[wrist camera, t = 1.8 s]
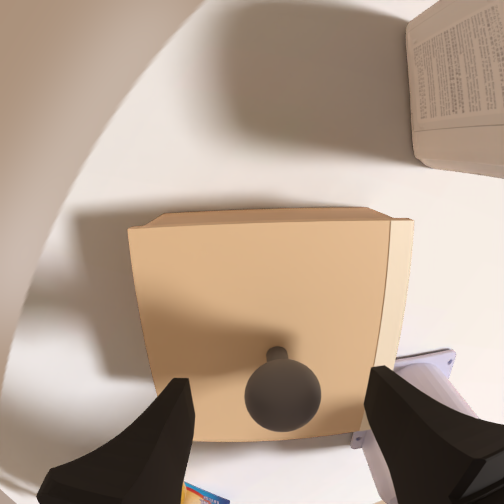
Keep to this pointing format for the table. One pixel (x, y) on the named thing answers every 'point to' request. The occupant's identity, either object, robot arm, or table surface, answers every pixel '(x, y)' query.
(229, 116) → the table surface
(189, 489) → the juice carton
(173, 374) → the lid
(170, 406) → the robot arm
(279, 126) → the table surface
